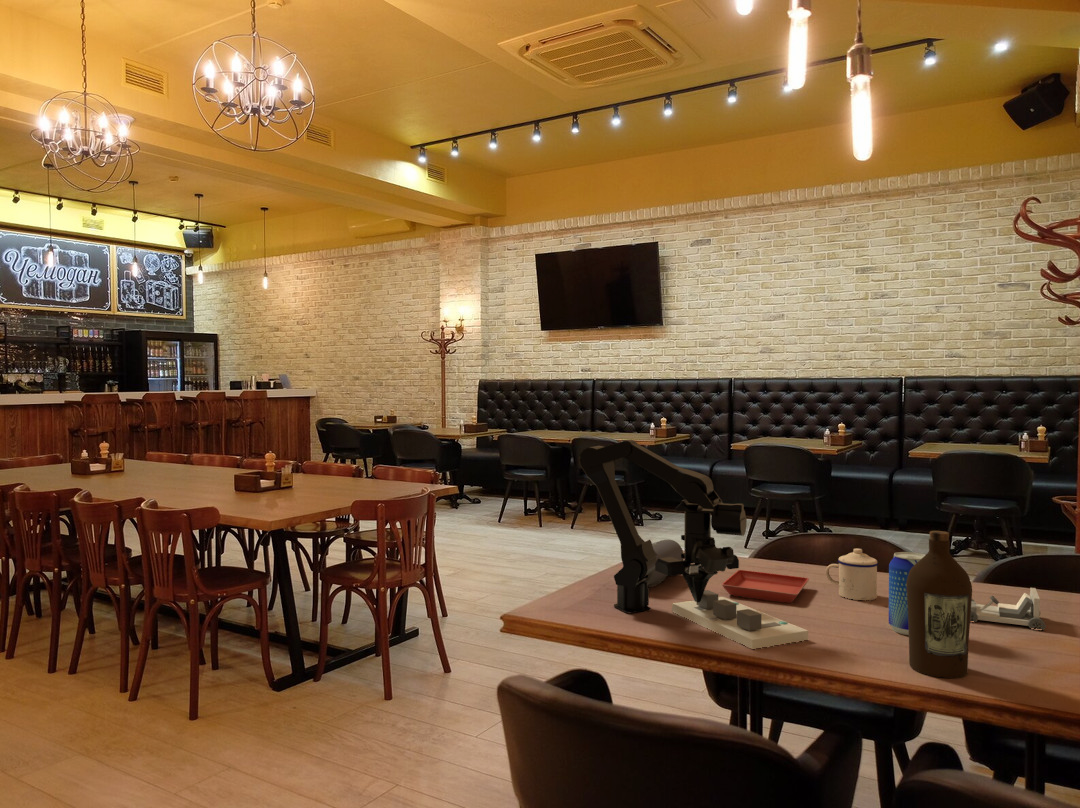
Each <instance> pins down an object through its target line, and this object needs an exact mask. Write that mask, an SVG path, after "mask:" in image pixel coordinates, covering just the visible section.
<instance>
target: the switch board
mask: <svg viewBox="0 0 1080 808" xmlns="http://www.w3.org/2000/svg"><path fill="white" fill-rule="evenodd" d="M724 599H725V600H727V601H730V602H732V603H735V604H736V618H734V619H727V620H724V619H722V618H719V617H717V616H715V615H713V609H705V608H703V607H701V606H698V605H696V602H695V601H694V600H689V601H680V602H673V603H672V604H671V605H672V608H671V612H672V613H673V612H674V614H675V613H676V614H675V615H677V614H678V615H677V616H680V617H681V618H684V617H685V618H684V619H686V618H687V619H686V620H688V619H689V621H690V620H691V622H692V621H693V622H692V623H694V622H695V623H694V624H696V623H697V624H696V625H699V626H701V627H703V628H705V629H707V628H708V629H707V630H709V629H710V631H711V630H712V631H711V632H713V631H714V633H715V632H716V634H718V633H719V634H718V635H720V634H721V635H720V636H722V635H723V636H722V637H724V636H725V637H724V638H726V637H727V638H726V639H728V638H730V639H731V641H732V640H734V641H736V642H735V643H737V642H738V643H737V644H739V643H741V644H743V645H745V646H747V647H749V648H752V649H755V648H761V649H763V648H762V647H767V648H769V647H768V646H773V645H779V644H784V643H790V644H792V643H791V642H796V643H798V642H797V641H802V642H804V641H803V640H808V641H809V630H808V629H805V628H802V627H800V626H798V625H795V624H792V623H789V622H788V621H785V620H782V619H780V618H777V617H776V616H775V617H774V616H772V615H770V614H767V613H764V612H763V611H759V610H758V609H755V608H752V607H749V606H747V605H745V604H742V603H739V602H737V601H735V600H732V599H730V598H728V597H725V596H718V600H724ZM745 609H750V610H752V611H755V612H757V613H760V614H761V629H757V630H751V631H749V630H747V629H744V628H742V627H740V626H737V611H738V610H745ZM730 639H729V640H730ZM734 641H733V642H734ZM741 644H740V645H741ZM743 645H742V646H743ZM784 645H785V644H784ZM745 646H744V647H745ZM779 646H780V645H779ZM747 647H746V648H747ZM773 647H774V646H773ZM749 648H748V649H749ZM755 650H756V649H755Z"/></svg>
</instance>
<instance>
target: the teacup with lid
mask: <svg viewBox="0 0 1080 808" xmlns="http://www.w3.org/2000/svg"><path fill="white" fill-rule="evenodd" d="M837 562H838V563H831V564H829V565H828V566H826V567H825V577H826V578H827V580H828V581H829V582H830V583H831V584H834V585H838V594H839V596H840V597H841V598H844V597H845V598H844V599H847V598H848V599H847V600H851V599H853V600H852V601H858V600H865V601H864V602H867V601H866V600H869V601H874V600H875V599H877V597H878V593H877V592H878V582H877V580H878V565H879V563H878V560H877V559H876V558H874V557H871V556H869V555H868V554H866V553H863V549H862V548H853V551H852V552H849V553H848V554H844V555H841V556H839V557H838V559H837ZM831 568H838V580H834V579H833V578H832V577H831V574H830V569H831Z"/></svg>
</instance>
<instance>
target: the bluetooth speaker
mask: <svg viewBox="0 0 1080 808" xmlns="http://www.w3.org/2000/svg"><path fill="white" fill-rule="evenodd" d="M652 546H653V549H654V551H655V552H656V554H657V555H658V556H656V560H658V558H666V557H673V558H675V559H678V560H684V559H683V558H681V553H684V551H683V548H682V547H681V544H679V543H678V541H676V540H674V539H662V540H659V541H656V542H652ZM667 577H669V576H668V575H665V574H663V573H660V572H658V571H655V569H654V571H653V572H651V573H650V574H649V577H648V579H647V580H644V581H646V582H647V587H648V588H653V587H656V586H657V584H658V585H659V584H661V583H663V582H664V581H665V580H666V578H667ZM662 581H663V582H662ZM655 585H656V586H655ZM652 586H653V587H652Z"/></svg>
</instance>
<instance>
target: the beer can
mask: <svg viewBox="0 0 1080 808" xmlns="http://www.w3.org/2000/svg"><path fill="white" fill-rule="evenodd" d="M925 555H926V554H924V553H919V552H918V553H917V552H911V551H900V552H894V554H893V558H892V559H891V560H890V562H889V564H888V624H889V625H890V626H891V628H892V631H893V632H895V633H898V634H900V635H904V636H909V628H908V605H907V586H906V582H907V577H908V574H909V571H910V570H911V568H912V567H913V566H914V565H915V564H916V563H917V562H918V561H919V560H921V559H922V558H923V557H924V556H925Z"/></svg>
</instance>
